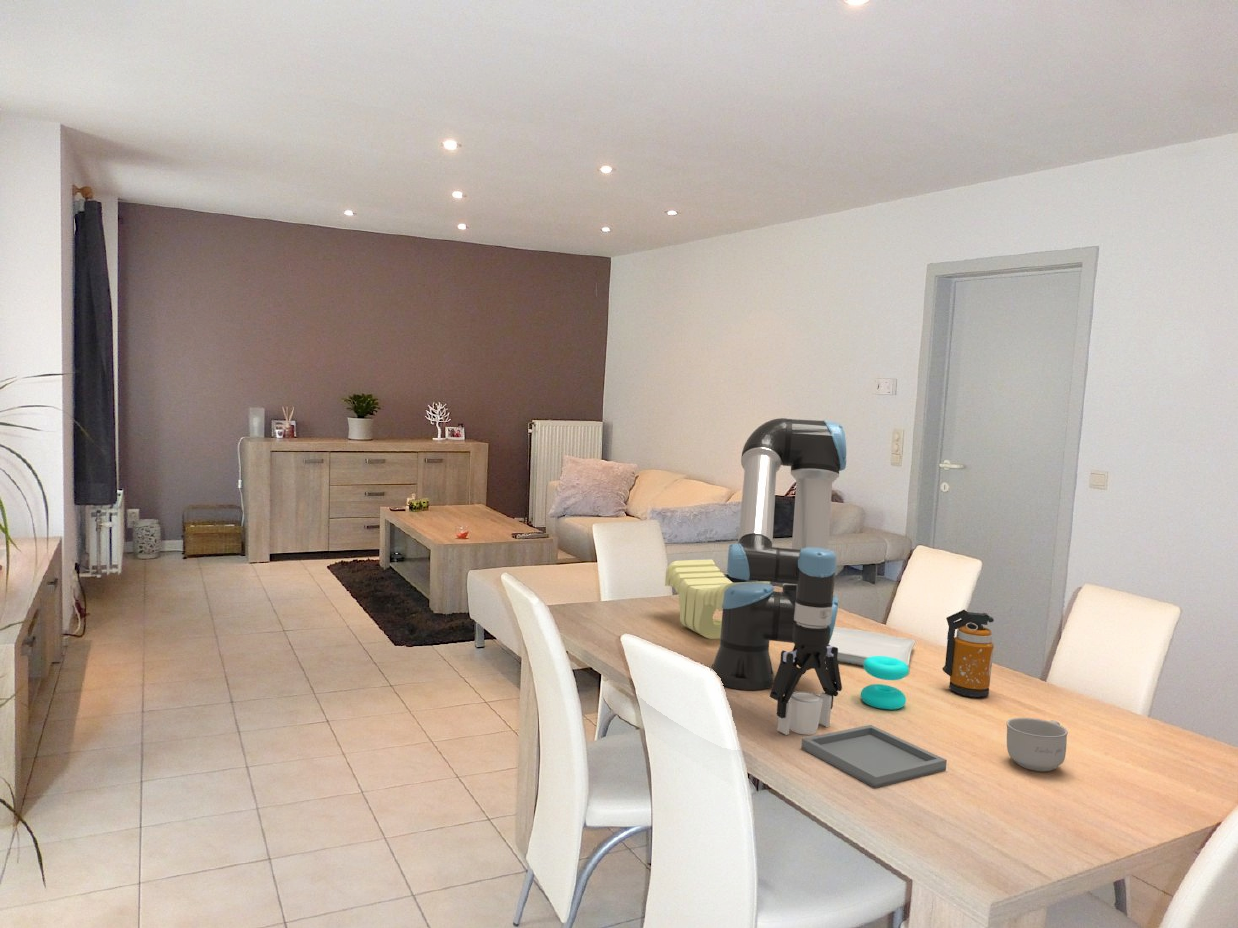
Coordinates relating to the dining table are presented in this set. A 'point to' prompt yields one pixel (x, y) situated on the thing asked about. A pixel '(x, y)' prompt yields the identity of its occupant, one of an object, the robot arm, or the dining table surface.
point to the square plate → (869, 645)
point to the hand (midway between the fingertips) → (803, 728)
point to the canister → (969, 653)
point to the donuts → (881, 693)
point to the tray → (873, 755)
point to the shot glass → (805, 712)
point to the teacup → (1036, 743)
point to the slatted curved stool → (699, 594)
